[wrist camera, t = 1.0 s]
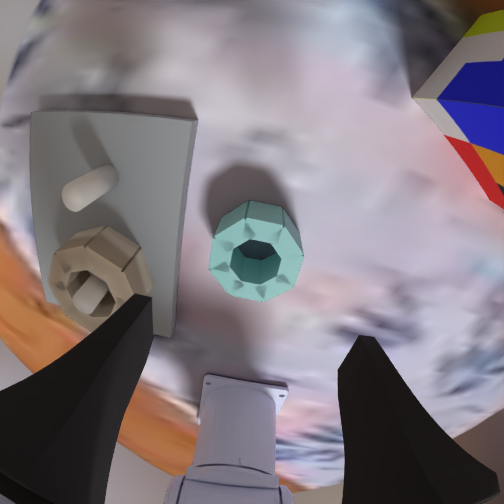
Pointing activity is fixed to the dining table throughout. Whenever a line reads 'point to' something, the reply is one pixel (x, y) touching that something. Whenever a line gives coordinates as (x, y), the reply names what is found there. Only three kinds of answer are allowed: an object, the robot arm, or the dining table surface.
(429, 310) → the dining table surface
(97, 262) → the tan octagonal nut
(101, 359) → the robot arm
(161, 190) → the board
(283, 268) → the teal octagonal nut
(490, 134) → the puzzle toy
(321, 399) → the dining table surface
